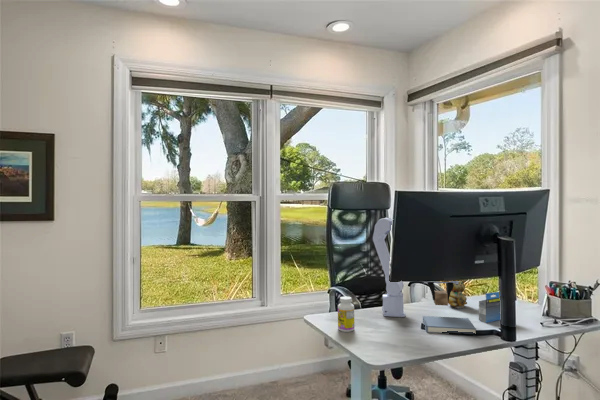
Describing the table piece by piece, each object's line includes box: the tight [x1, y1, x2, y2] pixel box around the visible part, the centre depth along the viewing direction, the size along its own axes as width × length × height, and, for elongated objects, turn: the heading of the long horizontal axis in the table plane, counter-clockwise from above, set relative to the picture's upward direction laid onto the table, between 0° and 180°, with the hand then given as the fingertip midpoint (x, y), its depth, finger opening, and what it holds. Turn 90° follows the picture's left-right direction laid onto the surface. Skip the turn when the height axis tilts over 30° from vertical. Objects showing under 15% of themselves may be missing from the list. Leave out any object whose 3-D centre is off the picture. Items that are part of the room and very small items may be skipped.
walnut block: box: [433, 290, 449, 307], centre depth 159 cm, size 5×5×5 cm
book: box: [422, 315, 477, 334], centre depth 148 cm, size 18×13×3 cm
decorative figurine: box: [448, 281, 468, 309], centre depth 179 cm, size 10×8×15 cm
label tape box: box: [478, 291, 501, 324], centre depth 157 cm, size 9×4×12 cm, turn 113°
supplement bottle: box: [337, 295, 356, 333], centre depth 149 cm, size 7×7×13 cm
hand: (440, 299), depth 159 cm, fingers closed on walnut block, 5 cm apart
